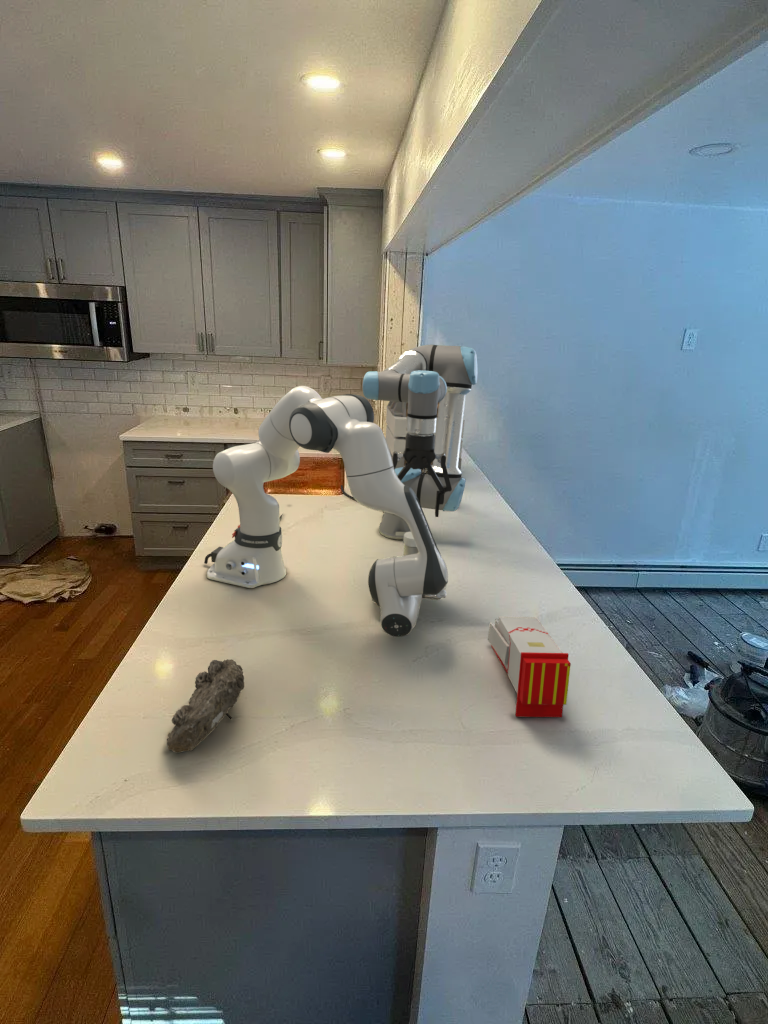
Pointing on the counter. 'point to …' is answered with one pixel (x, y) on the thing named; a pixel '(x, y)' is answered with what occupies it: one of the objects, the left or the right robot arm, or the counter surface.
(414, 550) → the jar
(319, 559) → the counter surface
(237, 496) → the left robot arm
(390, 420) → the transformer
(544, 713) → the toy
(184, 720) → the fossil
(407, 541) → the lid
